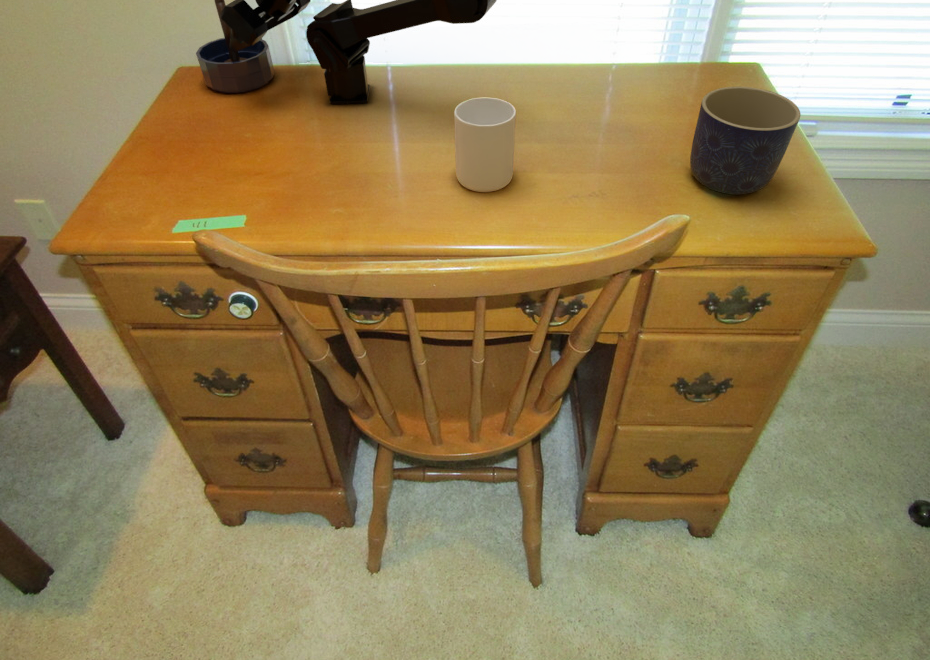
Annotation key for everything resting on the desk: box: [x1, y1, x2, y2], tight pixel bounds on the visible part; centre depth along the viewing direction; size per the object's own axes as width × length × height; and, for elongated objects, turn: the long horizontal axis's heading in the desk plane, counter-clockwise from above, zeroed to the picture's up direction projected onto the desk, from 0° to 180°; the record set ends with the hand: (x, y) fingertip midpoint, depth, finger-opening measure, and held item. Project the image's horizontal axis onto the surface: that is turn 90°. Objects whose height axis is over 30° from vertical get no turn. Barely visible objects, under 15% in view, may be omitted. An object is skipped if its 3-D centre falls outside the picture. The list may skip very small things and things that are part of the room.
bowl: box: [195, 37, 276, 94], centre depth 115 cm, size 12×12×6 cm
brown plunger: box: [214, 0, 247, 62], centre depth 111 cm, size 5×5×14 cm
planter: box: [689, 85, 801, 195], centre depth 87 cm, size 12×12×11 cm
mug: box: [453, 96, 517, 193], centre depth 90 cm, size 12×8×10 cm
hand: (247, 39), depth 110 cm, fingers open, 9 cm apart
